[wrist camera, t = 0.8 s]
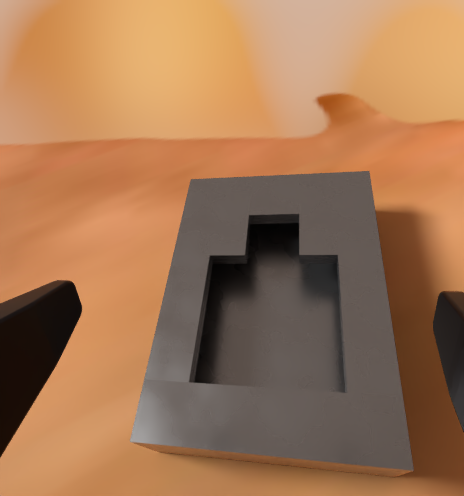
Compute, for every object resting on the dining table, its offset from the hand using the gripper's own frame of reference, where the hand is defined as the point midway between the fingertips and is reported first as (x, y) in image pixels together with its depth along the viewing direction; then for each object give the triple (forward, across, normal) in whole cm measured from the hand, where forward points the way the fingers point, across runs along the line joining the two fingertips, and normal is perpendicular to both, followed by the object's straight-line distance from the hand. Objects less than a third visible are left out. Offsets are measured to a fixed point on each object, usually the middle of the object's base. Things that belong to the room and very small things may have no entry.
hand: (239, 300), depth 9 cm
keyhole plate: (+13, +1, +10) cm, 17 cm away
